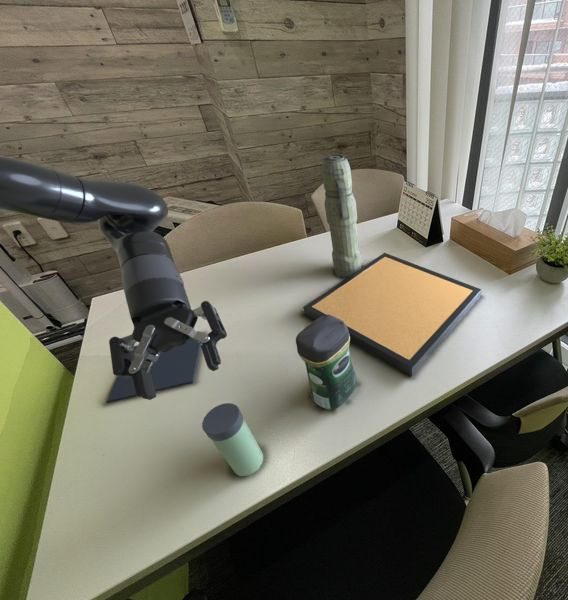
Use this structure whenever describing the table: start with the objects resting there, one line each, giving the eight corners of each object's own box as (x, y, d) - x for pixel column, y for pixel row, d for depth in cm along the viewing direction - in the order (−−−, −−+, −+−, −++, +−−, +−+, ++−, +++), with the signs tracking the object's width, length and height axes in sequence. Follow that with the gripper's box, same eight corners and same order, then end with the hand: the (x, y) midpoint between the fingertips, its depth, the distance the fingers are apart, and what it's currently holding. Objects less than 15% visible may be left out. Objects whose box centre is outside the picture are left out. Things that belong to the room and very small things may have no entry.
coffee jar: (336, 368, 74) (323, 305, 62) (363, 383, 71) (355, 320, 59) (304, 398, 68) (284, 335, 56) (333, 417, 64) (317, 354, 53)
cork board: (411, 376, 72) (480, 297, 94) (412, 368, 70) (481, 289, 92) (304, 314, 88) (384, 259, 111) (302, 306, 87) (384, 252, 109)
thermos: (342, 283, 100) (325, 165, 78) (329, 265, 108) (311, 153, 86) (368, 275, 103) (359, 160, 81) (354, 258, 111) (342, 149, 89)
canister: (231, 481, 55) (199, 439, 46) (233, 452, 59) (204, 408, 50) (263, 471, 56) (238, 428, 47) (263, 443, 60) (240, 399, 51)
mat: (107, 403, 67) (106, 401, 67) (131, 348, 79) (129, 347, 78) (193, 382, 71) (192, 381, 70) (203, 333, 83) (202, 332, 82)
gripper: (85, 299, 45) (106, 405, 40) (191, 260, 49) (223, 352, 44) (122, 318, 52) (144, 411, 47) (213, 284, 56) (243, 366, 51)
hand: (182, 383), depth 45 cm, fingers open, 8 cm apart
